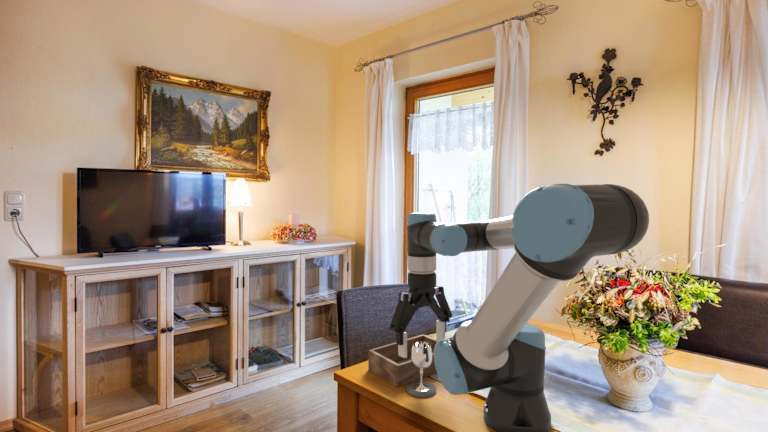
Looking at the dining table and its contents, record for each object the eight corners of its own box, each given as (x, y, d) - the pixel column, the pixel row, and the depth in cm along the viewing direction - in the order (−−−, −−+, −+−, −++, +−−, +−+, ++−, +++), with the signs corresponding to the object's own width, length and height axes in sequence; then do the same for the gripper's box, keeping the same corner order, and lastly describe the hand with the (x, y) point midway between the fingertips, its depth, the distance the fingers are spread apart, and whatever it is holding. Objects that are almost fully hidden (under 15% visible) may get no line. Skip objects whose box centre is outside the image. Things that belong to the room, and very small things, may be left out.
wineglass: (435, 386, 117) (436, 343, 116) (425, 395, 113) (426, 350, 112) (416, 381, 121) (417, 339, 120) (406, 389, 116) (406, 345, 115)
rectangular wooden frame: (454, 366, 132) (454, 347, 131) (397, 387, 118) (398, 366, 118) (423, 351, 143) (423, 334, 142) (368, 369, 129) (368, 350, 129)
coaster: (442, 391, 116) (442, 389, 116) (420, 400, 111) (420, 398, 111) (422, 380, 122) (422, 378, 122) (400, 388, 117) (400, 386, 117)
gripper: (445, 263, 124) (445, 336, 126) (375, 275, 109) (376, 357, 111) (465, 267, 118) (465, 343, 120) (393, 280, 103) (394, 366, 105)
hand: (422, 350), depth 115 cm, fingers open, 13 cm apart
